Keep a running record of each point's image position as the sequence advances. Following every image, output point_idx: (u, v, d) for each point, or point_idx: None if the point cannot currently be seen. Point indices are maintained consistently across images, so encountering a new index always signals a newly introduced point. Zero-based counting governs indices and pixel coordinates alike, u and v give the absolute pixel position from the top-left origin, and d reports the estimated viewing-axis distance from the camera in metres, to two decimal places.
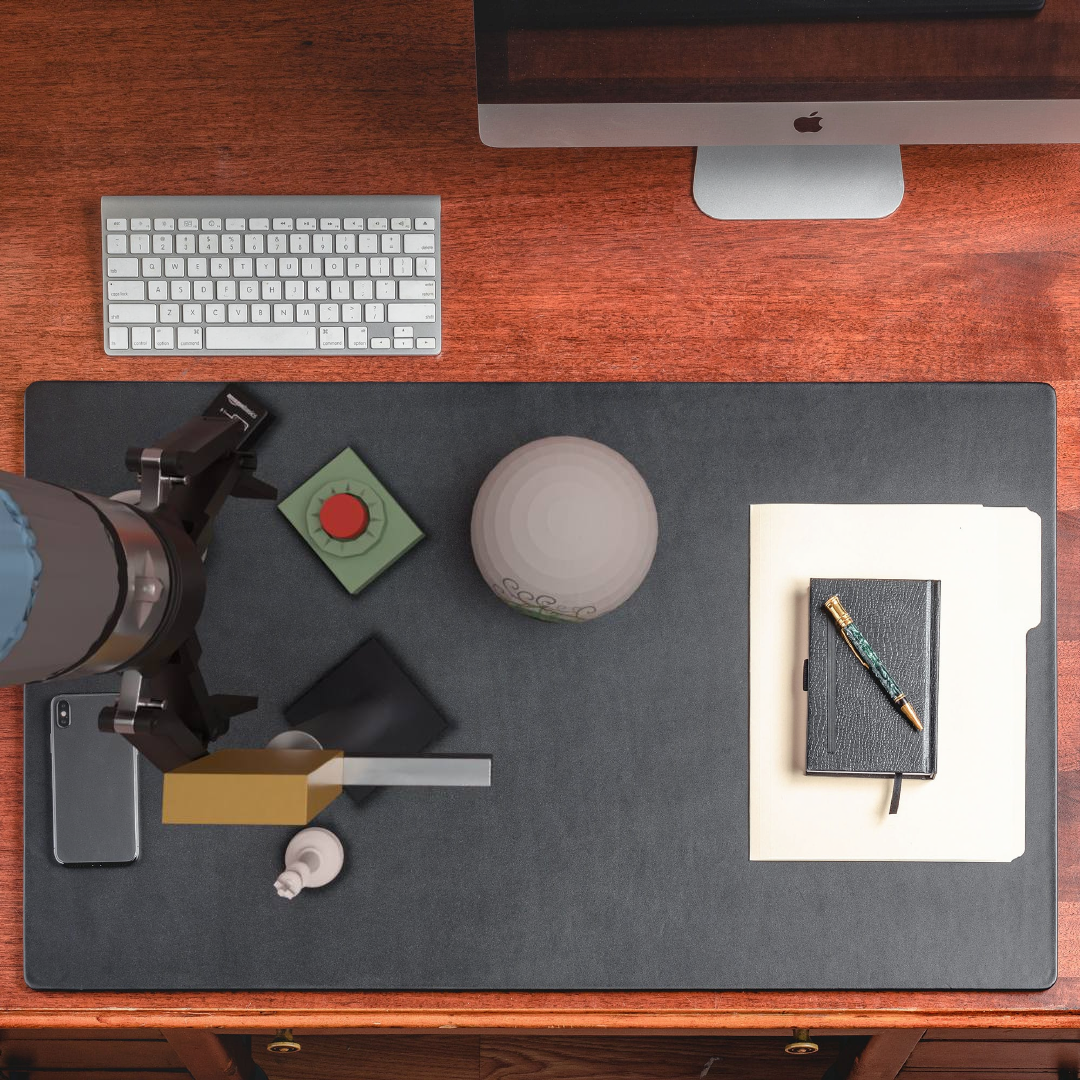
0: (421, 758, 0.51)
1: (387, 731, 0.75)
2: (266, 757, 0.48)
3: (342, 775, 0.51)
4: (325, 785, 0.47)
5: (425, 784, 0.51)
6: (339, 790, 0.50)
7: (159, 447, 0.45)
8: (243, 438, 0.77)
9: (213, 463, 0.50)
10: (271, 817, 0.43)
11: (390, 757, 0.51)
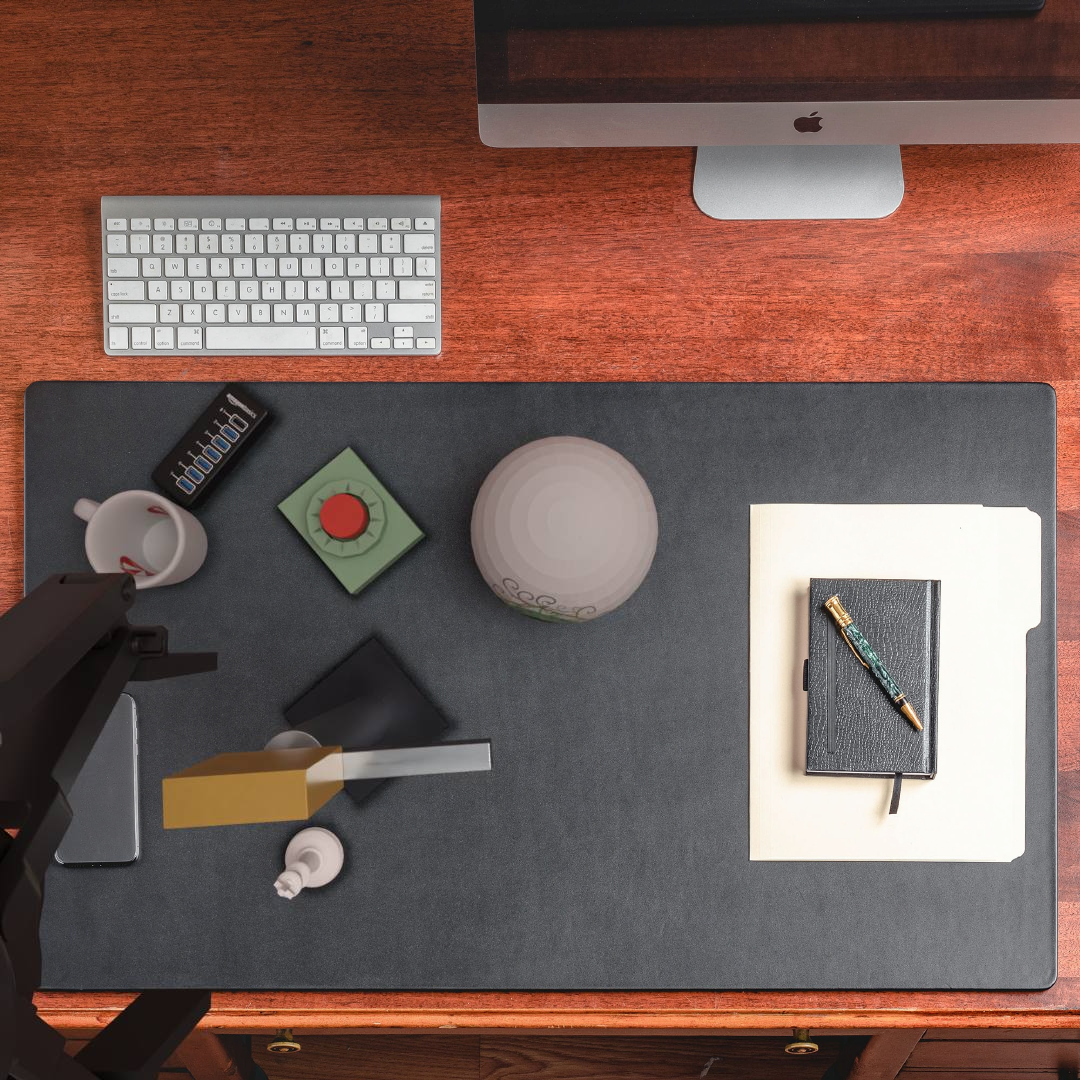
0: (420, 747, 0.51)
1: (387, 731, 0.75)
2: (264, 757, 0.48)
3: (342, 770, 0.51)
4: (325, 780, 0.47)
5: (426, 773, 0.51)
6: (340, 785, 0.50)
7: None
8: (243, 438, 0.77)
9: (82, 658, 0.29)
10: (272, 814, 0.43)
11: (389, 749, 0.51)
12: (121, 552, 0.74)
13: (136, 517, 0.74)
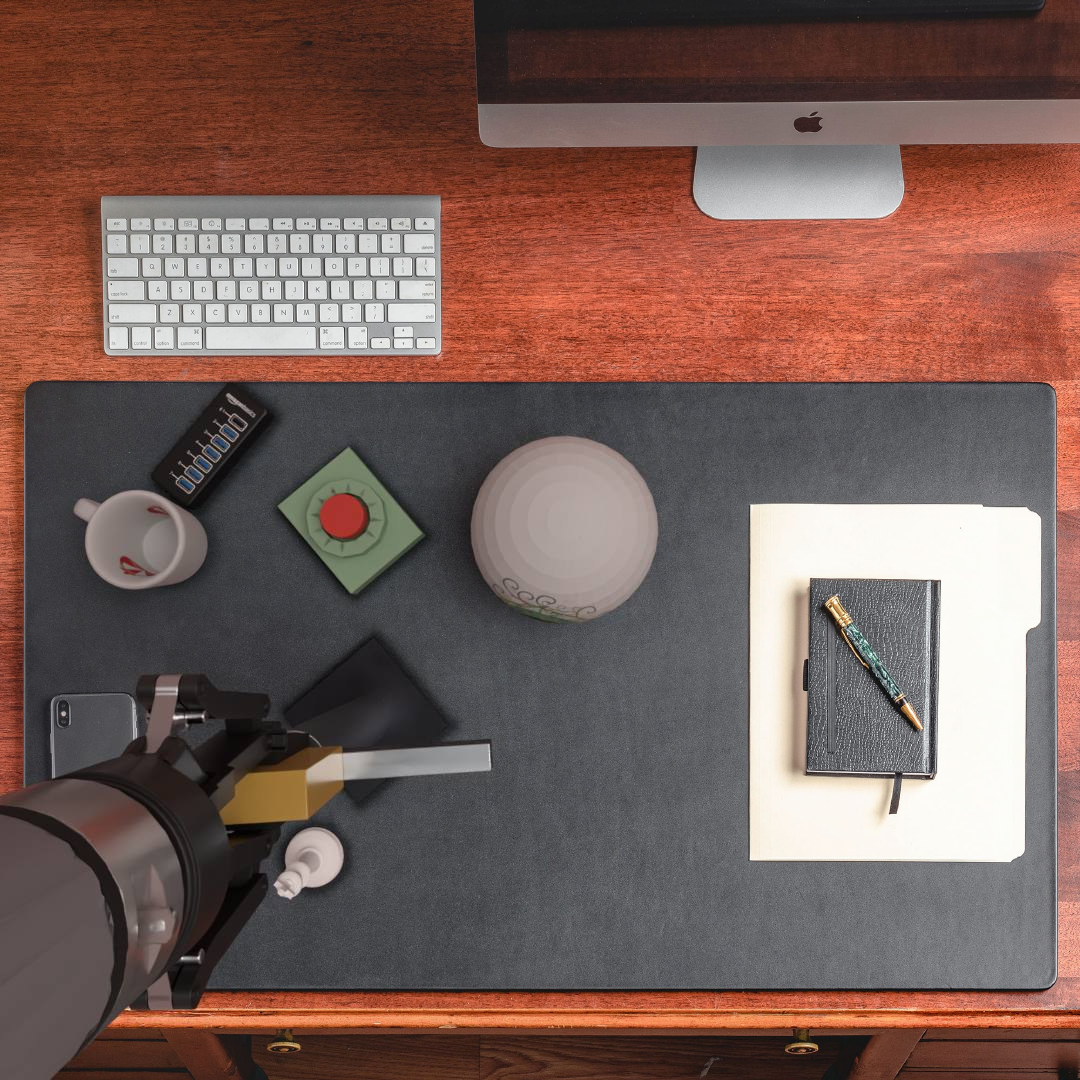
0: (420, 748, 0.51)
1: (387, 731, 0.75)
2: None
3: (342, 770, 0.51)
4: (325, 780, 0.47)
5: (426, 773, 0.51)
6: (340, 785, 0.50)
7: None
8: (242, 437, 0.77)
9: (238, 736, 0.43)
10: (272, 815, 0.43)
11: (389, 749, 0.51)
12: (121, 552, 0.74)
13: (136, 517, 0.74)
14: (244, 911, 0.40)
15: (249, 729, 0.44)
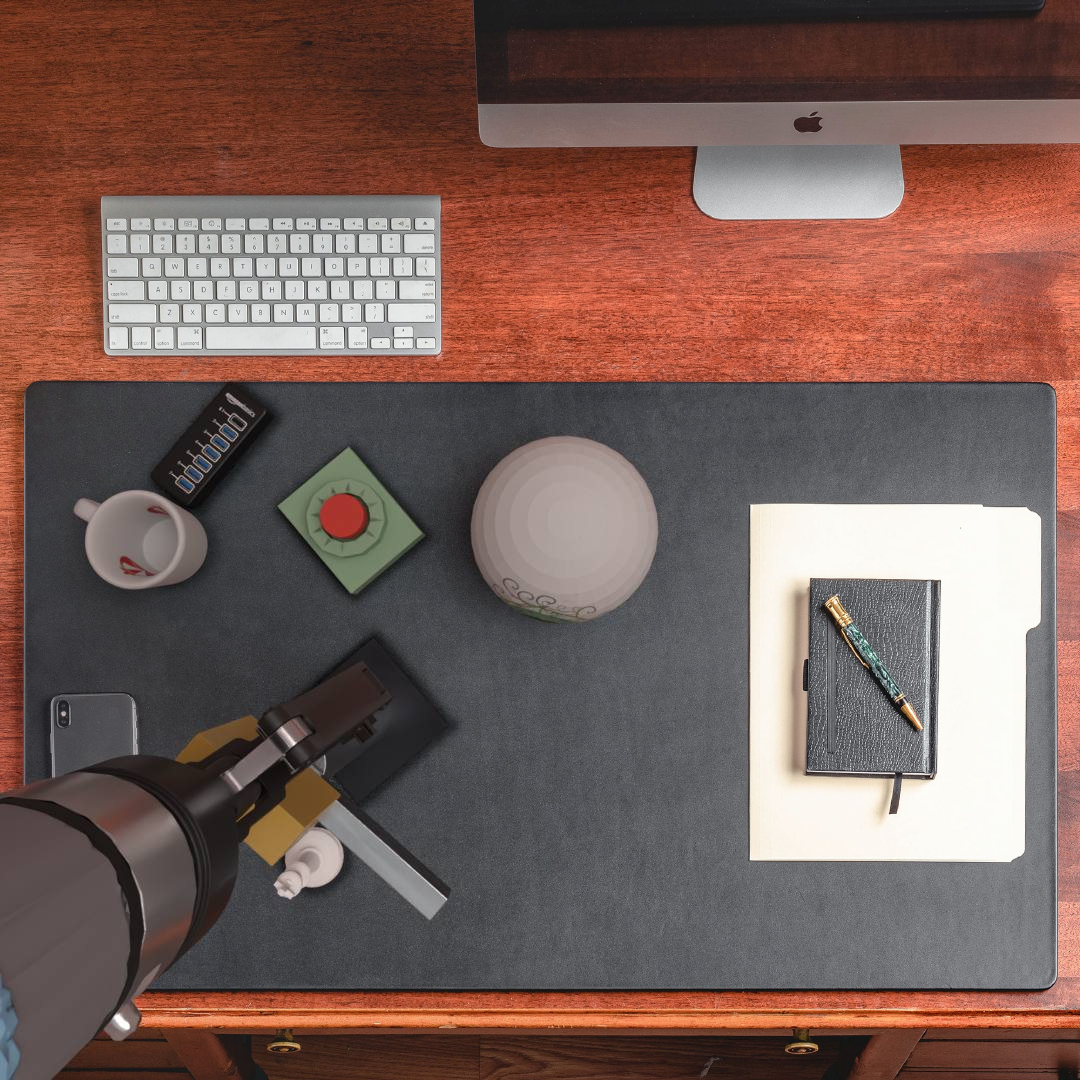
0: (395, 852, 0.50)
1: (387, 731, 0.75)
2: None
3: (324, 814, 0.50)
4: (308, 828, 0.46)
5: (381, 876, 0.50)
6: None
7: (303, 706, 0.37)
8: (242, 437, 0.77)
9: None
10: (250, 838, 0.43)
11: (372, 831, 0.51)
12: (121, 552, 0.74)
13: (136, 517, 0.74)
14: None
15: None
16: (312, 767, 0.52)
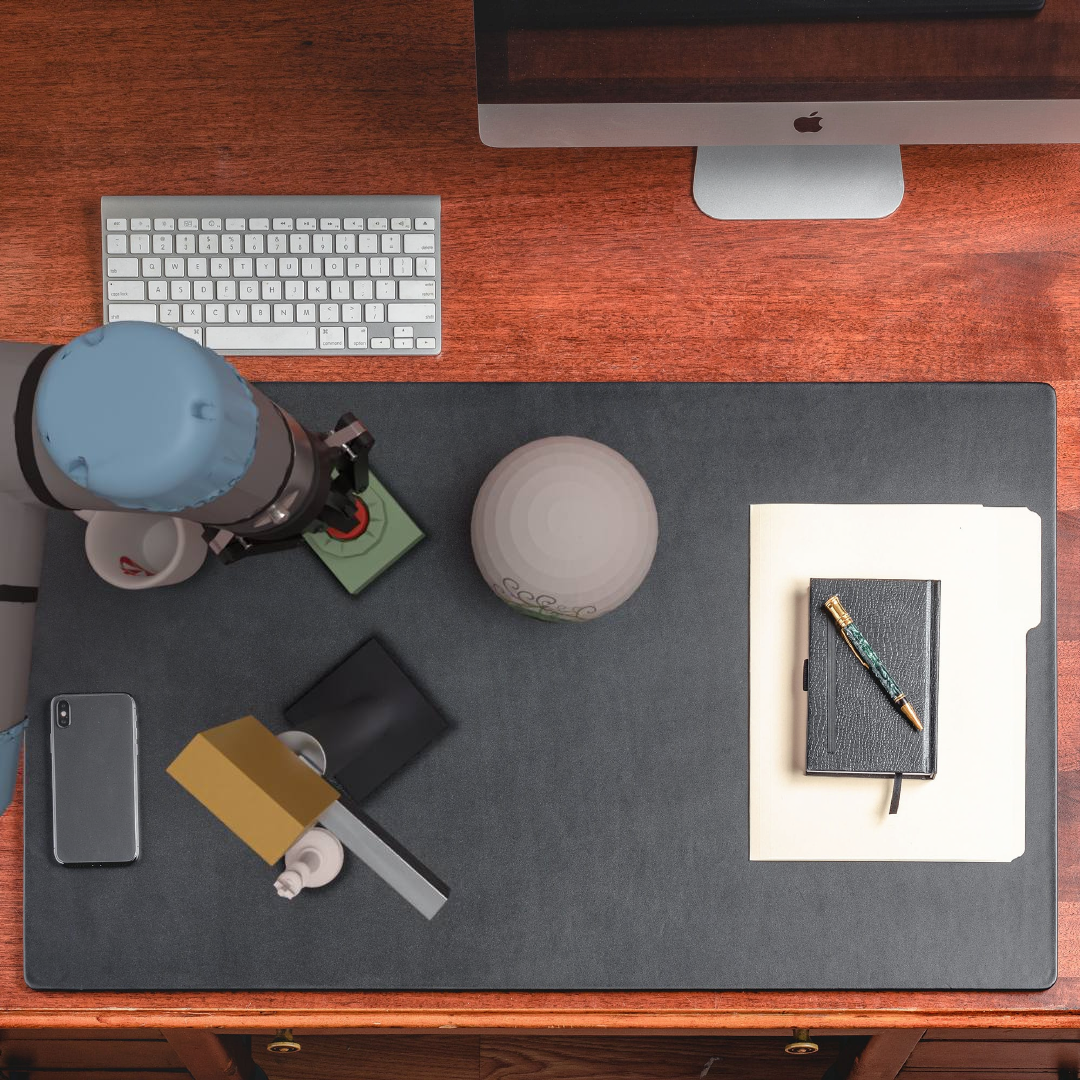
0: (395, 852, 0.50)
1: (387, 731, 0.75)
2: (280, 762, 0.48)
3: (324, 814, 0.50)
4: (308, 828, 0.46)
5: (381, 876, 0.50)
6: None
7: None
8: None
9: (339, 487, 0.65)
10: (250, 838, 0.43)
11: (372, 831, 0.51)
12: (121, 552, 0.74)
13: (136, 517, 0.74)
14: (280, 546, 0.63)
15: (345, 490, 0.66)
16: (312, 767, 0.52)
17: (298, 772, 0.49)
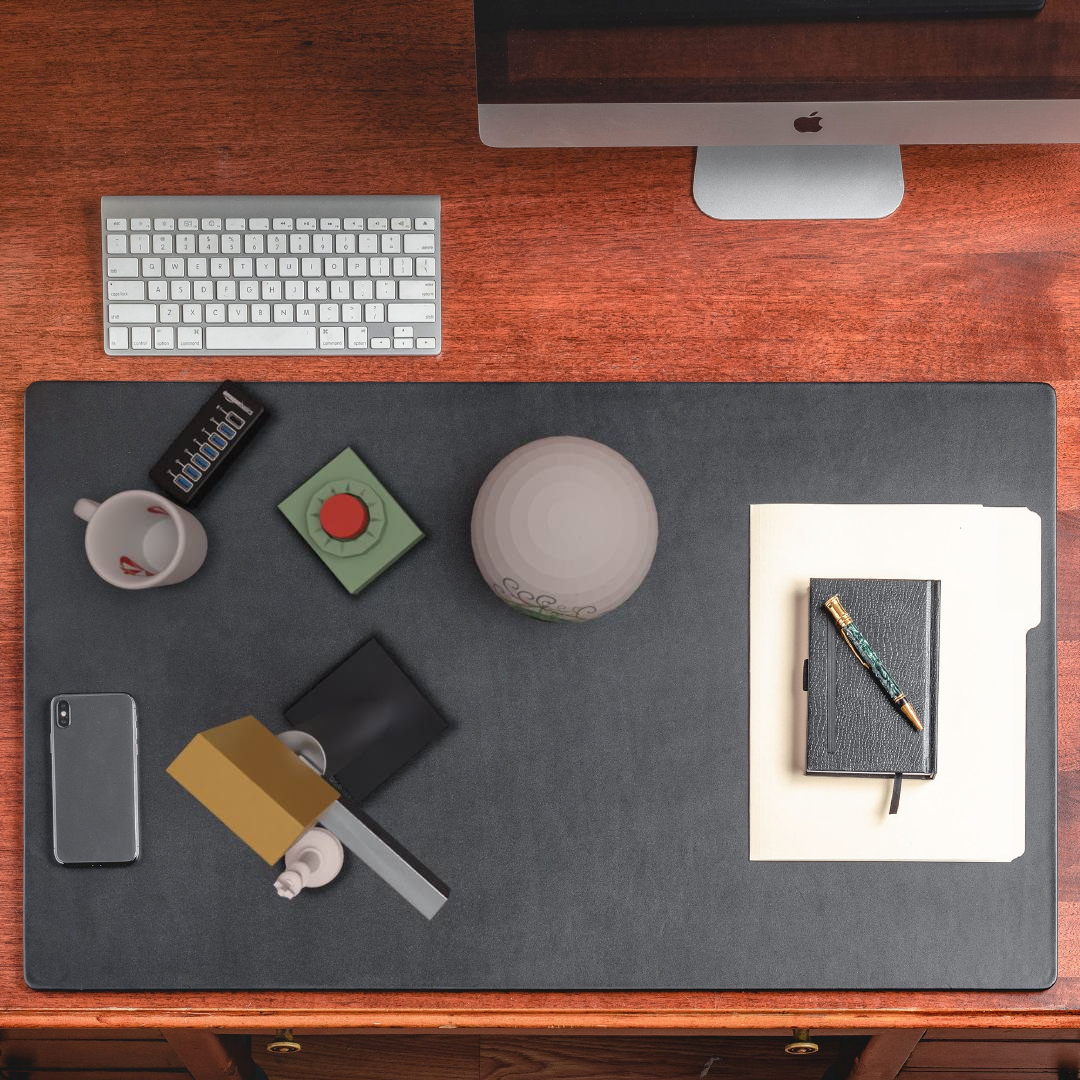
0: (395, 852, 0.50)
1: (387, 731, 0.75)
2: (280, 762, 0.48)
3: (324, 814, 0.50)
4: (308, 828, 0.46)
5: (381, 876, 0.50)
6: None
7: None
8: (240, 435, 0.77)
9: None
10: (250, 838, 0.43)
11: (372, 831, 0.51)
12: (121, 552, 0.74)
13: (135, 517, 0.74)
14: None
15: None
16: (312, 767, 0.52)
17: (298, 772, 0.49)
